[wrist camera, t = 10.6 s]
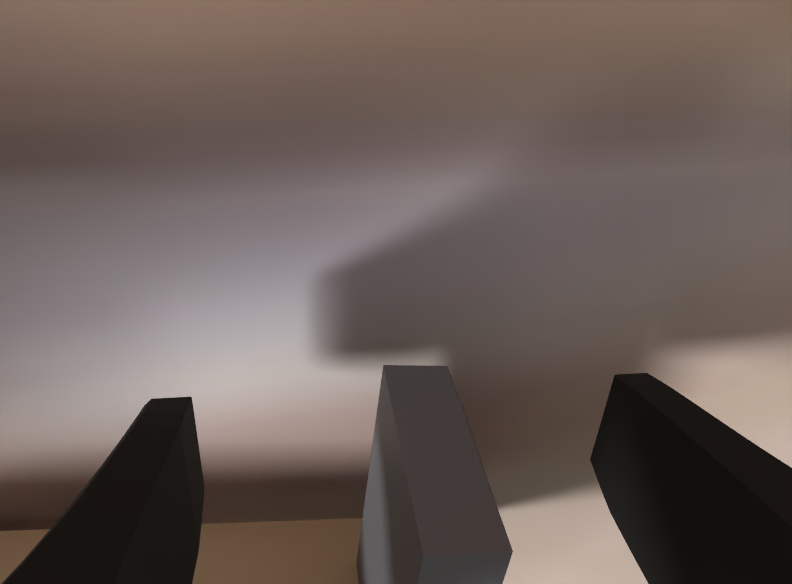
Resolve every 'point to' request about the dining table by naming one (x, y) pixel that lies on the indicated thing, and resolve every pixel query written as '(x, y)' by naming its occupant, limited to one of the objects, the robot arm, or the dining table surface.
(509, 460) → the dining table surface
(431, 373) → the front flap
